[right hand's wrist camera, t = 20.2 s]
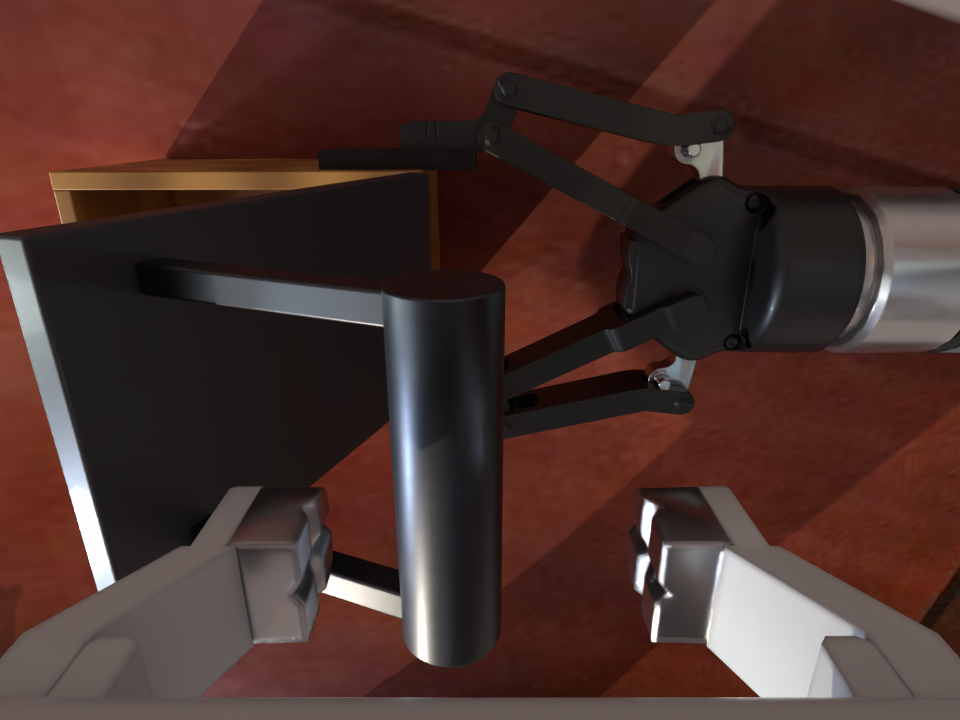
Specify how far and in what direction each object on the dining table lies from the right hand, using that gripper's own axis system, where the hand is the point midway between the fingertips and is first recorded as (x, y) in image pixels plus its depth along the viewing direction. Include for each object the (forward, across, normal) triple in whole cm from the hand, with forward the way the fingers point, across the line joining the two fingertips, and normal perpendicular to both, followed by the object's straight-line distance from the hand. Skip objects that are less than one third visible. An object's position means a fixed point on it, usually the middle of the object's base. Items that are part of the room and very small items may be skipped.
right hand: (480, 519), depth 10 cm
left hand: (+19, -7, 0) cm, 20 cm away
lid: (+9, -6, 0) cm, 11 cm away
